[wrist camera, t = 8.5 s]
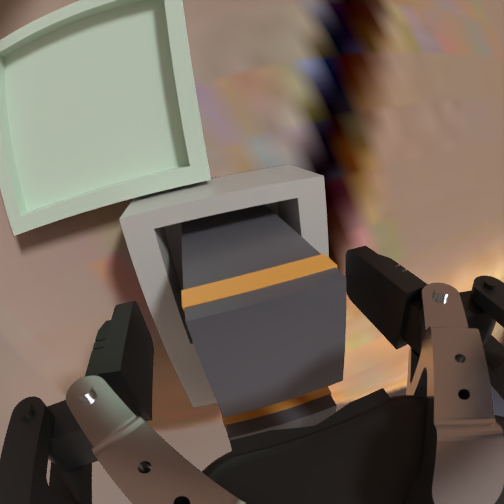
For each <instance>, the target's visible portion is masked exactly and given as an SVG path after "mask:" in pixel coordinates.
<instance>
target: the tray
mask: <svg viewBox="0 0 504 504" xmlns="http://www.w3.org/2000/svg"><path fill="white" fill-rule="evenodd" d="M208 180H211V176H210V171H209V165H208V160H207V154H206V149H205V143H204V137H203V132H202V126H201V120H200V114H199V108H198V102H197V96H196V90H195V83H194V77H193V71H192V64H191V58H190V51H189V44H188V37H187V31H186V23H185V16H184V9H183V1H182V0H80V1H78V2H75V3H72V4H70V5H67V6H65V7H63V8H60V9H58V10H56V11H54V12H51V13H49V14H47V15H45V16H43V17H41V18H39V19H37V20H35V21H33V22H31V23H29V24H27V25H25V26H23V27H21V28H20V29H18V30H16V31H14V32H13V33H11V34H9V35H7V36H6V37H4V38H3V39H1V40H0V189H1V193H2V197H3V201H4V204H5V208H6V211H7V215H8V218H9V221H10V224H11V228H12V231H13V234H14V236H15V235H18V234H21V233H24V232H26V231H29V230H32V229H35V228H38V227H40V226H43V225H46V224H49V223H52V222H55V221H58V220H61V219H64V218H67V217H70V216H74V215H77V214H80V213H83V212H87V211H90V210H93V209H97V208H100V207H103V206H107V205H110V204H114V203H118V202H121V201H125V200H129V199H132V198H136V197H140V196H144V195H148V194H152V193H156V192H160V191H164V190H168V189H172V188H176V187H181V186H185V185H190V184H194V183H199V182H203V181H208Z"/></svg>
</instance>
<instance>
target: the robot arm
mask: <svg viewBox="0 0 504 504" xmlns="http://www.w3.org/2000/svg"><path fill="white" fill-rule="evenodd" d="M346 291H347V295H348V297H349V299H350V300H351V301H352V302H353V303H354V304H355V305H356V306H357V308H358V309H359V310H360V311H361V312H362V313H363V314H364V315H365V316H366V317H367V318H368V319H369V320H370V321H371V322H372V323H373V325H374V326H375V327H376V328H377V329H378V330H379V331H380V332H381V333H382V334H383V335H384V336H385V337H386V339H387V340H388V341H389V342H390V343H391V344H392V345H393V346H394V347H395V348H396V349H399V348H401V347H403V346H405V345H407V344H408V345H409V346H410V350H409V358H408V380H407V393H406V395H399V396H392V397H389V396H388V394H387V393H386V392H385V390H384V389H383V388H382V389H380V390H378V391H375V392H373V393H371V394H369V395H367V396H364V397H362V398H360V399H357V400H355V401H353V402H350V403H349V404H347V405H346V406H344V407H343V408H341V409H340V410H339V411H337V412H336V413H334V414H333V415H331V416H330V417H328V418H327V419H325V420H323V421H322V422H320V423H319V424H317V425H314V426H308V427H300V428H290V429H279V430H269V431H266V432H262V433H258V434H254V435H250V436H246V437H242V438H238V439H233V440H230V443H231V447H232V451H231V452H229V453H227V454H225V455H223V456H222V457H220V458H218V459H217V460H215V461H214V462H213V463H211V464H210V465H209V466H208V467H206V468H205V470H203V471H202V472H201V471H200V470H199V469H197V468H196V467H195V466H194V465H192V464H191V463H190V462H189V461H188V460H186V459H185V458H184V457H183V456H182V455H180V454H179V453H178V452H177V451H176V450H175V449H174V448H173V447H171V446H170V445H169V444H168V443H167V442H166V441H165V440H164V439H163V438H162V437H161V436H159V435H158V434H157V433H156V432H155V431H154V430H153V429H152V428H151V427H150V426H149V425H148V424H147V423H146V422H145V421H149V420H152V380H153V355H154V348H153V342H152V338H151V335H150V333H149V330H148V328H147V326H146V323H145V321H144V318H143V316H142V314H141V311H140V309H139V306H138V304H137V303H136V302H135V301H133V302H128V303H124V304H119V305H116V306H115V309H114V312H113V315H112V319H111V320H109V321H106V322H105V323H104V324H103V325H102V327H101V328H100V329H99V330H98V333H97V337H96V340H95V341H96V342H95V343H94V347H93V350H92V353H91V357H90V360H89V364H88V368H87V371H86V375H85V377H83V378H81V379H79V380H77V381H76V382H74V383H73V384H72V385H71V387H70V388H69V390H68V392H67V394H66V400H64V401H61V402H59V403H56V404H53V405H51V406H48V407H47V406H46V405H45V404H44V403H43V401H42V400H41V399H40V398H38V397H28V398H25V399H23V400H22V401H21V402H19V403H18V405H17V406H16V407H15V408H14V410H13V412H12V415H11V419H10V422H9V425H8V429H7V433H6V437H5V441H4V445H3V449H2V453H1V458H0V504H92V484H91V483H92V479H91V477H92V462H95V461H99V462H100V464H101V465H102V466H103V468H104V469H105V470H106V472H107V473H108V474H109V475H110V477H111V478H112V480H113V481H114V482H115V483H116V485H117V486H118V487H119V488H120V490H121V491H122V492H123V493H124V494H125V496H126V497H127V498H128V499H129V500H130V501H131V502H132V504H504V417H501V416H497V415H494V407H493V398H492V391H491V386H492V387H493V388H494V389H495V390H496V391H497V392H498V393H499V395H500V396H501V397H502V398H503V399H504V346H503V345H502V344H500V343H499V342H498V341H497V340H496V339H495V338H494V337H493V336H492V335H491V334H492V331H493V329H494V326H495V323H496V321H497V322H498V323H499V324H500V325H501V326H503V327H504V283H503V282H501V281H500V280H498V279H496V278H494V277H491V276H479V277H477V278H476V279H475V280H474V283H473V287H472V291H466V292H460V293H459V292H458V291H457V290H456V289H455V288H454V287H452V286H450V285H448V284H444V283H431V284H426V283H425V282H423V281H422V280H421V279H419V278H418V277H416V276H415V275H414V274H412V273H411V272H409V271H408V270H407V271H406V269H405V268H404V267H402V266H401V265H400V266H399V264H398V263H397V262H395V261H394V260H392V259H391V258H388V257H385V256H382V255H379V254H377V253H376V252H374V251H373V250H371V249H370V248H368V247H367V246H362V247H358V248H355V249H351V250H348V251H347V253H346ZM48 459H49V460H50V461H51V470H50V482H49V486H48V484H47V480H46V473H47V463H48Z"/></svg>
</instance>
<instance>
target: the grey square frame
mask: <svg viewBox="0 0 504 504" xmlns="http://www.w3.org/2000/svg"><path fill="white" fill-rule="evenodd" d="M263 204H265V205H266V206H267V207H268V208H269V209H271V210H272V211H273V212H274V213H275V214H276V215H278V216H279V217H280V218H281V219H282V220H283V221H284V222H286V223H287V224H288V225H289V226H290V227H291V228H292V229H293V230H295V231H296V232H297V233H298V234H299V235H300V236H301V237H303V238H304V239H305V240H306V241H307V242H308V243H309V244H310V245H311V246H313V247H314V248H315V249H316V250H317V251H318V252H319V253H320V254H325V255H326V256H327V257H328V258H329V250H328V229H327V212H326V198H325V185H324V176H322V175H319V174H316V173H313V172H310V171H307V170H304V169H301V168H298V167H295V166H292V165H285V166H279V167H272V168H266V169H261V170H255V171H249V172H244V173H238V174H233V175H228V176H223V177H218V178H213V179H211V180H208V181H203V182H199V183H194V184H190V185H185V186H181V187H176V188H172V189H168V190H164V191H160V192H156V193H152V194H148V195H144V196H140V197H136V198H134V199H133V200H132V201H131V203H130V204H129V206H128V207H127V208H126V210H125V211H124V213H123V214H122V216H121V217H120V218H119V220H120V223H121V227H122V230H123V234H124V237H125V240H126V244H127V247H128V250H129V253H130V256H131V259H132V262H133V265H134V268H135V271H136V274H137V277H138V280H139V283H140V286H141V288H142V291H143V294H144V297H145V299H146V302H147V305H148V307H149V310H150V313H151V315H152V318H153V320H154V323H155V325H156V328H157V330H158V333H159V335H160V337H161V340H162V342H163V344H164V347H165V349H166V351H167V354H168V356H169V358H170V361H171V363H172V365H173V367H174V369H175V372H176V374H177V376H178V378H179V380H180V382H181V384H182V386H183V388H184V391H185V393H186V395H187V397H188V399H189V401H190V403H191V405H192V407H193V408H196V407H201V406H206V405H211V404H215V403H218V402H217V400H216V398H215V396H214V393H213V391H212V388H211V386H210V384H209V381H208V379H207V376H206V374H205V372H204V369H203V367H202V364H201V362H200V359H199V356H198V354H197V351H196V349H195V346H194V343H193V341H192V338H191V335H190V333H189V330H188V327H187V325H186V322H185V314H184V311H183V308H182V295H181V290H184V289H183V267H182V227H181V222H185V221H189V220H193V219H198V218H202V217H207V216H211V215H216V214H220V213H225V212H230V211H234V210H239V209H244V208H249V207H253V206H258V205H263ZM336 406H337V405H336V404H335V402H334V400H333V398H332V397H331V392H330V390H329V388H328V386H327V387H324V388H321V389H319V390H316V391H313V392H310V393H307V394H305V395H302V396H299V397H296V398H293V399H289V400H286V401H283V402H280V403H277V404H273V405H270V406H266V407H263V408H259V409H256V410H252V411H248V412H245V413H241V414H237V415H233V416H228V417H224V416H223V414H222V418H223V423H224V426H225V428H226V430H227V433H228V438H229V440H233V439H238V438H242V437H246V436H250V435H254V434H258V433H262V432H266V431H269V430H279V429H290V428H300V427H308V426H314V425H317V424H319V423H320V422H322V421H323V420H325V419H327V418H328V417H330V416H331V415H333V414H334V413H336ZM221 413H222V412H221Z"/></svg>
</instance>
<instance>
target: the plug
mask: <svg viewBox="0 0 504 504" xmlns="http://www.w3.org/2000/svg"><path fill="white" fill-rule="evenodd" d="M181 227H182V267H183V289H184V290H181V295H182V308H183V311H184V314H185V322H186V325H187V327H188V330H189V333H190V335H191V338H192V341H193V343H194V346H195V349H196V351H197V354H198V356H199V359H200V362H201V364H202V367H203V369H204V372H205V374H206V376H207V379H208V381H209V384H210V386H211V388H212V391H213V393H214V396H215V398H216V400H217V402H218V405H219V407H220V409H221V412H222V414H223V416H224V417H228V416H233V415H237V414H241V413H245V412H248V411H252V410H256V409H259V408H263V407H266V406H270V405H273V404H277V403H280V402H283V401H286V400H289V399H293V398H296V397H299V396H302V395H305V394H307V393H310V392H313V391H316V390H319V389H321V388H324V387H327V386H330V385H332V384H335V383H337V382H340V381H342V380H343V369H344V353H345V330H346V277H345V276H344V275H343V274H342V273H341V272H340V271H339V270H338V269H337V265H336V264H335V263H334V262H333V261H332V260H331V259H330V258H328V257H327V256H326V255H325V254H320V253H319V252H318V251H317V250H316V249H315V248H314V247H313V246H311V245H310V244H309V243H308V242H307V241H306V240H305V239H304V238H303V237H301V236H300V235H299V234H298V233H297V232H296V231H295V230H293V229H292V228H291V227H290V226H289V225H288V224H287V223H286V222H284V221H283V220H282V219H281V218H280V217H279V216H278V215H276V214H275V213H274V212H273V211H272V210H271V209H269V208H268V207H267V206H266V205H265V204H263V205H258V206H253V207H249V208H244V209H239V210H234V211H230V212H225V213H220V214H216V215H211V216H207V217H202V218H198V219H193V220H189V221H185V222H181Z"/></svg>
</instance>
